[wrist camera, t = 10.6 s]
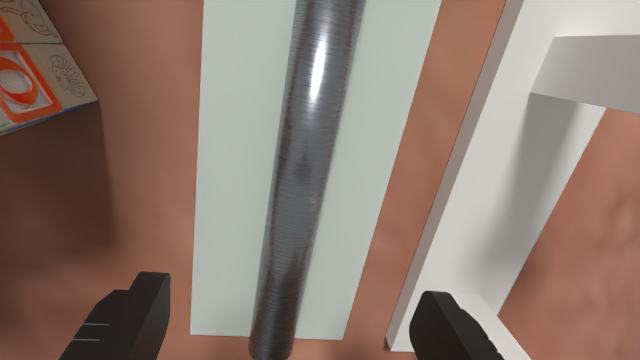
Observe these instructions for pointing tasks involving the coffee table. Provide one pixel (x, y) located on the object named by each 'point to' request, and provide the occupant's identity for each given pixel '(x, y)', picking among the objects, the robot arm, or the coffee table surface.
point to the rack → (520, 152)
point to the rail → (302, 165)
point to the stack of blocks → (35, 68)
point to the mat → (259, 151)
